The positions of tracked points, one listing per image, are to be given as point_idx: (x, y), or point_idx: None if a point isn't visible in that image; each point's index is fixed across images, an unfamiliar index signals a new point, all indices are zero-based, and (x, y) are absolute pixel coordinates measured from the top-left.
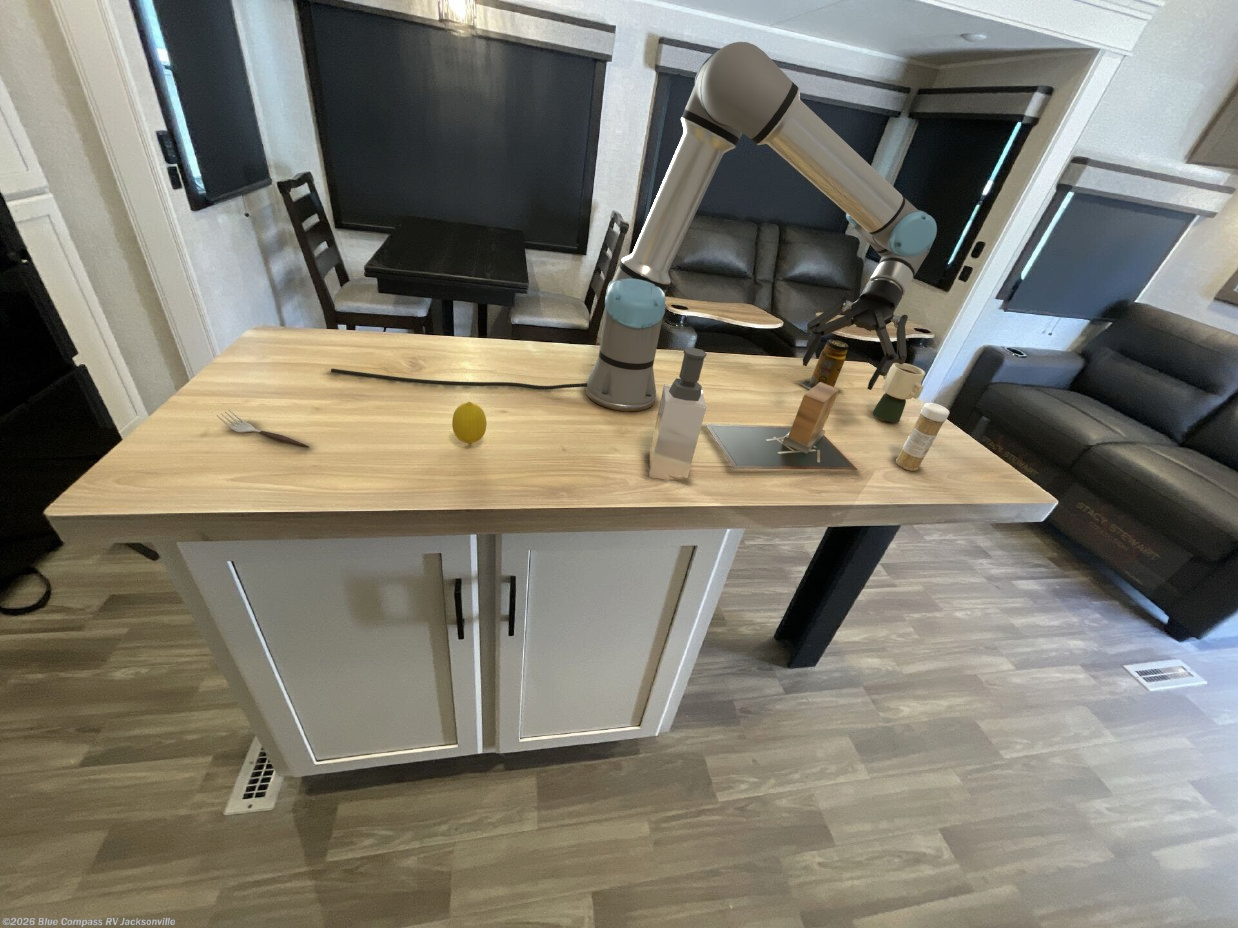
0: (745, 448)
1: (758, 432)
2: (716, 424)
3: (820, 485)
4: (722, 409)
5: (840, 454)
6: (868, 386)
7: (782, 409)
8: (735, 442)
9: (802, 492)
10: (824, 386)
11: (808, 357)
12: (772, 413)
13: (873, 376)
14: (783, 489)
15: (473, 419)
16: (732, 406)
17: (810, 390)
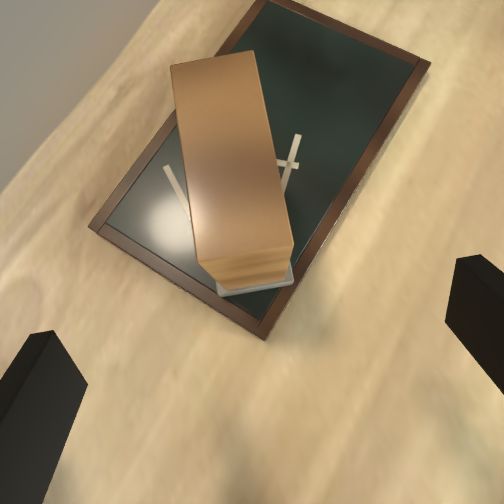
0: (301, 62)
1: (334, 148)
2: (415, 84)
3: (129, 114)
4: (486, 191)
5: (146, 255)
6: (71, 363)
7: (409, 380)
8: (331, 61)
9: (143, 62)
10: (252, 214)
11: (472, 289)
12: (404, 318)
13: (23, 372)
14: (172, 39)
15: None
16: (490, 234)
17: (261, 108)
